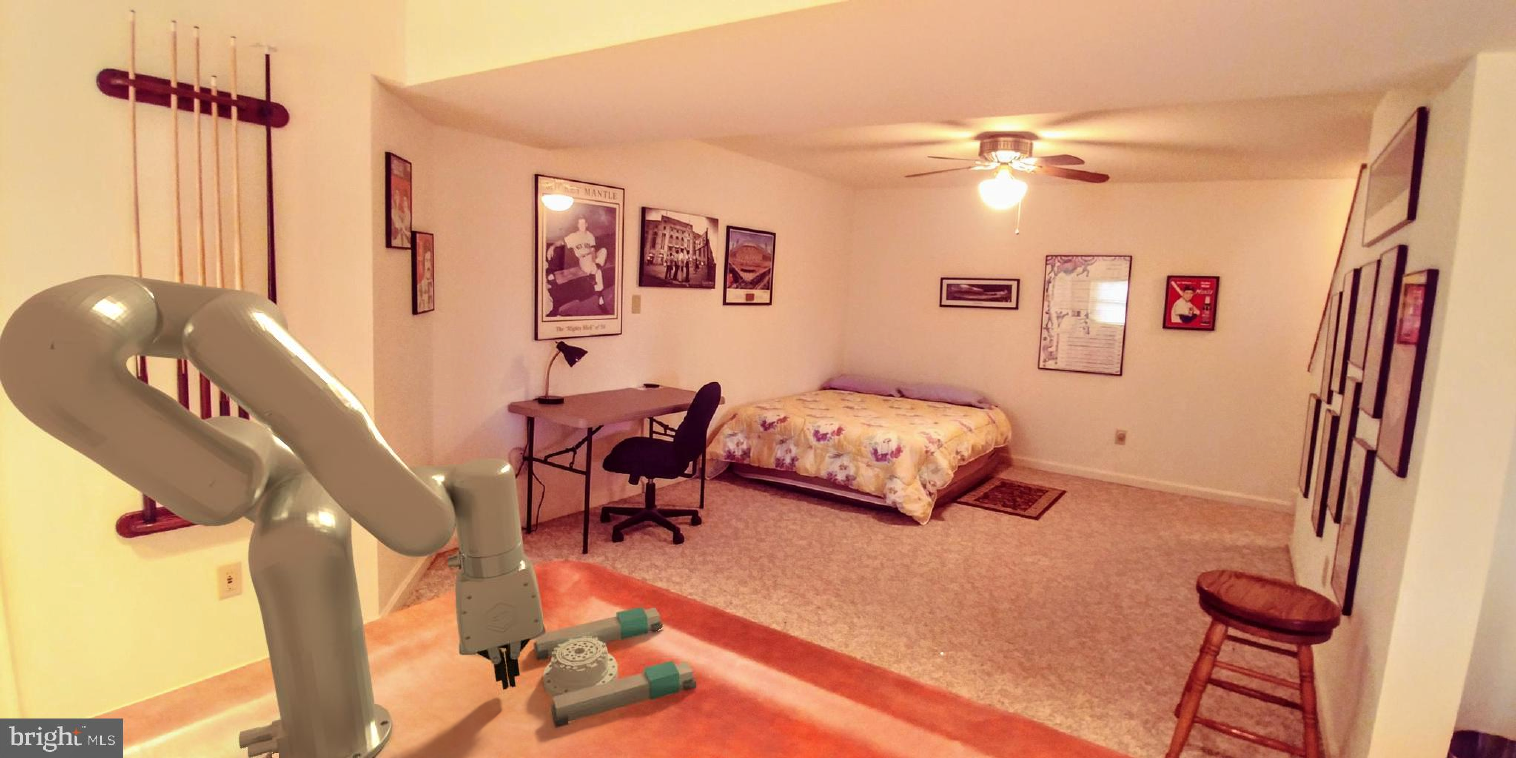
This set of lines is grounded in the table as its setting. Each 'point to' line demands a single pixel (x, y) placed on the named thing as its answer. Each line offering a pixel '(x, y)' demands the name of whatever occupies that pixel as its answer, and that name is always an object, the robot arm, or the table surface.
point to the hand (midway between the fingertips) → (508, 681)
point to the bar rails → (619, 691)
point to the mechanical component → (579, 666)
